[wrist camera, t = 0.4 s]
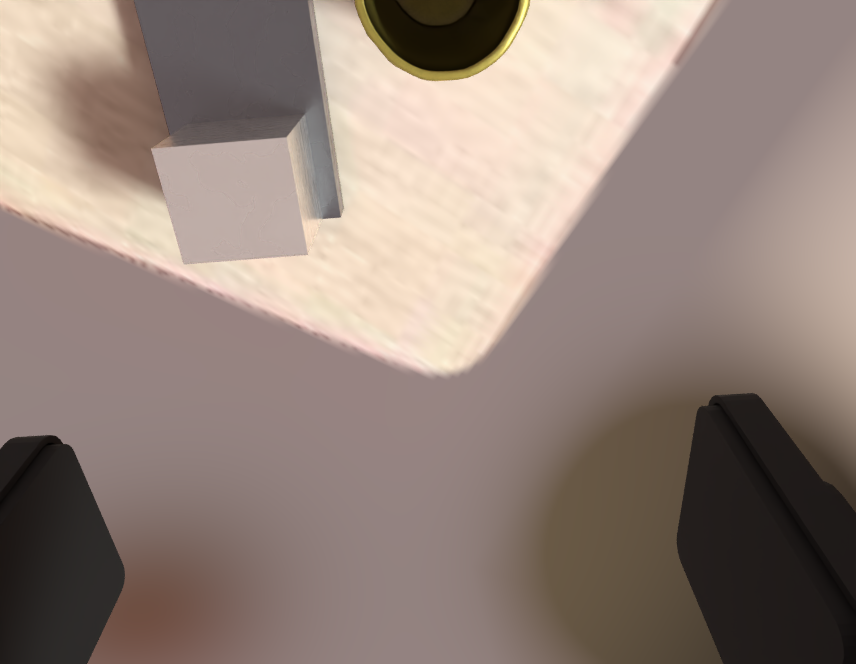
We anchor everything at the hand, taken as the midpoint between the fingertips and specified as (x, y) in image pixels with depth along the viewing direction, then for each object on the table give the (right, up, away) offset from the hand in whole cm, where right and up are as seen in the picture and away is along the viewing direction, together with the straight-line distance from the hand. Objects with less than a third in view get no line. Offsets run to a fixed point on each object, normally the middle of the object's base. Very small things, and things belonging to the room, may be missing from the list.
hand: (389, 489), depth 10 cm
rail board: (-9, +18, +22) cm, 30 cm away
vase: (+1, +19, +22) cm, 29 cm away
